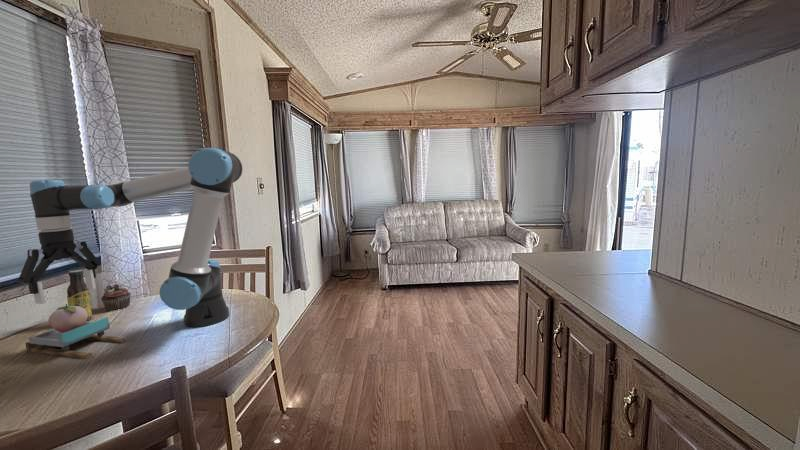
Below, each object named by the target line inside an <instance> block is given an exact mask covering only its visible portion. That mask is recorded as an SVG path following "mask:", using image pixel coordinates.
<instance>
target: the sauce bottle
mask: <svg viewBox="0 0 800 450" xmlns="http://www.w3.org/2000/svg"><path fill="white" fill-rule="evenodd" d="M68 276H69V283H70V284H69V285H68V287H67V289H66V294H67V296H66V297H67V298H66V299H67V306H79V307H82V308H84V309H85V310H86V311H87V313H88V318H87V320H86V321H87V322H89V321H90V319H91V320H92V316H93V313H92V303H91V295H90V293H91V292H90V289H87V285H86V281H85V279H84V269H76V270H70V271H68Z"/></svg>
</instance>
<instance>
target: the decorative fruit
mask: <svg viewBox="0 0 800 450" xmlns="http://www.w3.org/2000/svg"><path fill="white" fill-rule="evenodd" d="M87 318H88V313H87V311H86V310H85V309H84V308H82V307H79V306H68V303H66V304H65V305H63V306H60V307H58V308H57V309H56V310H55V311H53V312H52V313H51V314H50V316H49V317H48V324H49V326H50V327H51V328H52V329H55V330H56V331H59V332H62V333H65V332H68V331H70V330H73V329H76V328H78V327H81V326H83V325H84V324H85V322H86V320H87Z"/></svg>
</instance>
